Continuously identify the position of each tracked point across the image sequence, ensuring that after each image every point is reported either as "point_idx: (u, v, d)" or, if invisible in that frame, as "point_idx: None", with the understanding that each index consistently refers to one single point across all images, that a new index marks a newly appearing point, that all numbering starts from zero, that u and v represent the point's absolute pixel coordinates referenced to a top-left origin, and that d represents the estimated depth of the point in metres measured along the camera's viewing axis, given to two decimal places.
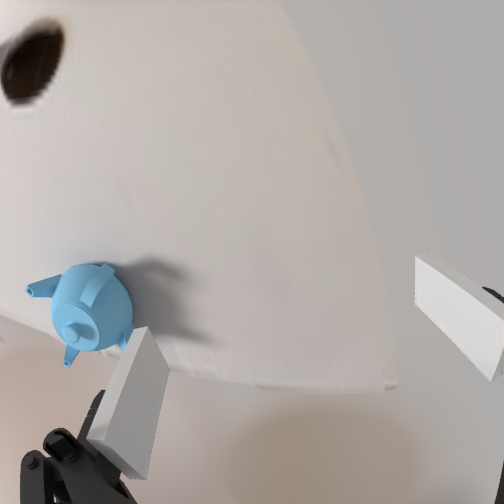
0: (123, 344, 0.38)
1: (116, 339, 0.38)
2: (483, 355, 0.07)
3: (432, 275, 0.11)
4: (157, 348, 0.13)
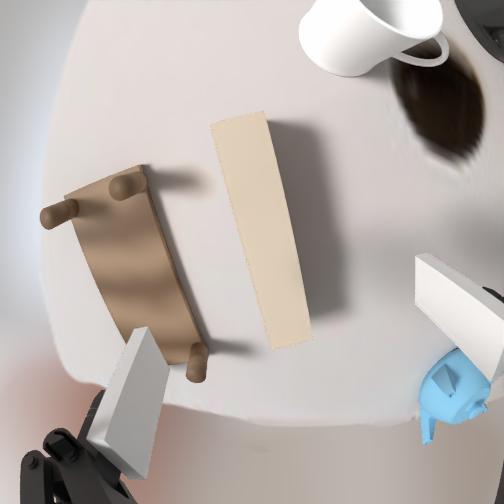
0: None
1: None
2: (483, 355, 0.07)
3: (432, 275, 0.11)
4: (157, 348, 0.13)
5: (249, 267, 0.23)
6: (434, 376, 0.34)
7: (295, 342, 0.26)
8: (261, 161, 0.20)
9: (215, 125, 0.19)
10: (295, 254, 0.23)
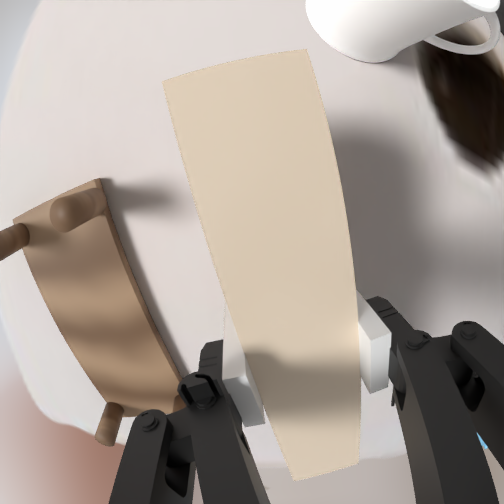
0: None
1: None
2: (361, 365, 0.10)
3: None
4: None
5: (264, 402, 0.10)
6: None
7: (331, 470, 0.13)
8: (301, 180, 0.08)
9: (177, 84, 0.06)
10: (357, 374, 0.10)
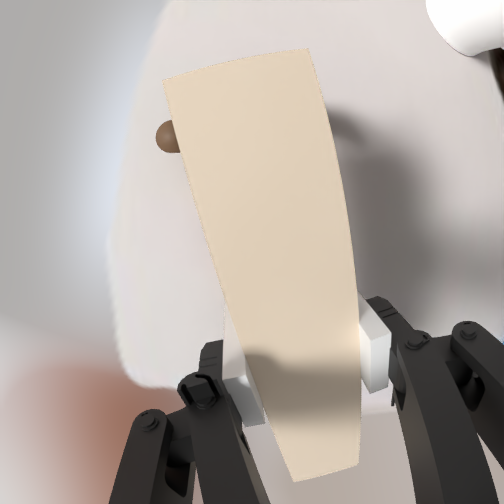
0: None
1: None
2: (361, 365, 0.10)
3: None
4: None
5: (264, 403, 0.10)
6: None
7: (331, 471, 0.13)
8: (302, 181, 0.07)
9: (177, 83, 0.06)
10: (357, 375, 0.10)
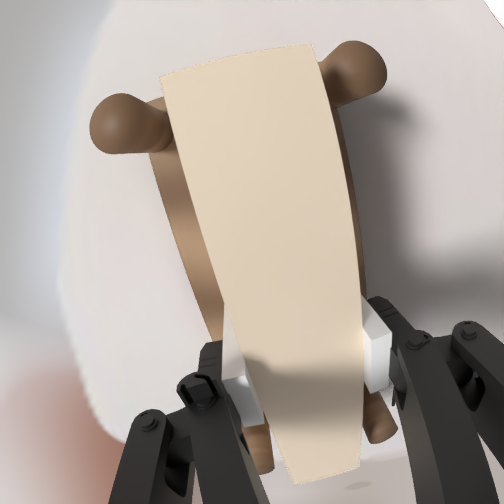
0: None
1: None
2: None
3: None
4: None
5: (265, 408, 0.10)
6: None
7: (332, 474, 0.13)
8: (305, 181, 0.07)
9: (175, 79, 0.06)
10: (360, 380, 0.10)
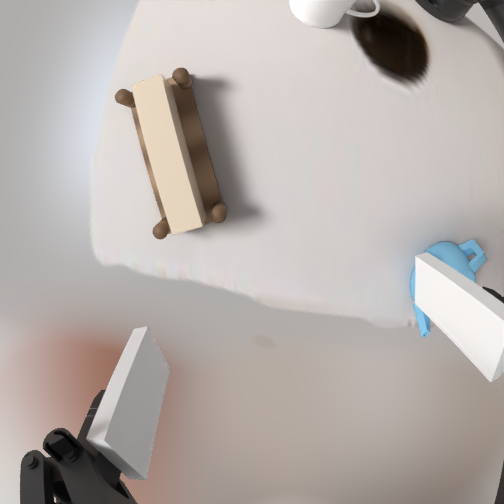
0: None
1: None
2: (483, 355, 0.07)
3: (432, 275, 0.11)
4: (157, 348, 0.13)
5: (152, 168, 0.32)
6: None
7: (189, 228, 0.35)
8: (159, 102, 0.30)
9: (134, 85, 0.29)
10: (181, 158, 0.32)
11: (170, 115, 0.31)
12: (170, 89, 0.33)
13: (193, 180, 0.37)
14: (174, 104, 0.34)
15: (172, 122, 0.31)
